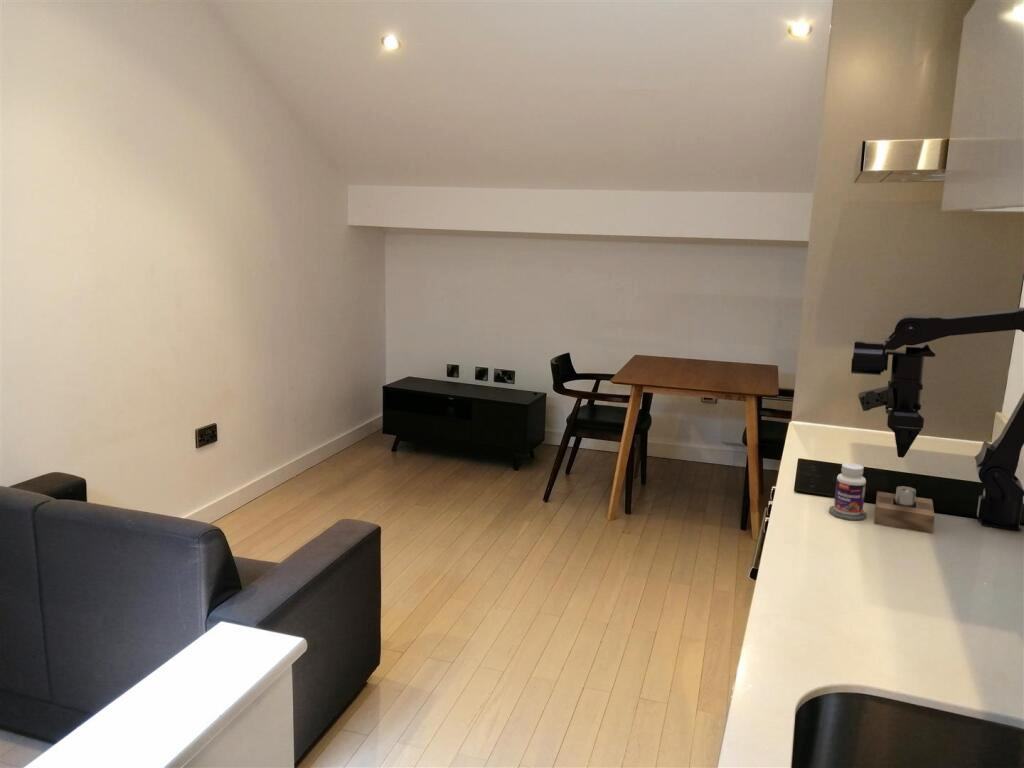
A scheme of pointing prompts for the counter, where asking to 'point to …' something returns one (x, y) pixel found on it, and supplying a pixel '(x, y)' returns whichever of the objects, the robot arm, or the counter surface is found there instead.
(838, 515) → the coaster
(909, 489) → the plug
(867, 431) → the counter surface
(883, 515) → the socket block
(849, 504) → the pill bottle
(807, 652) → the counter surface
